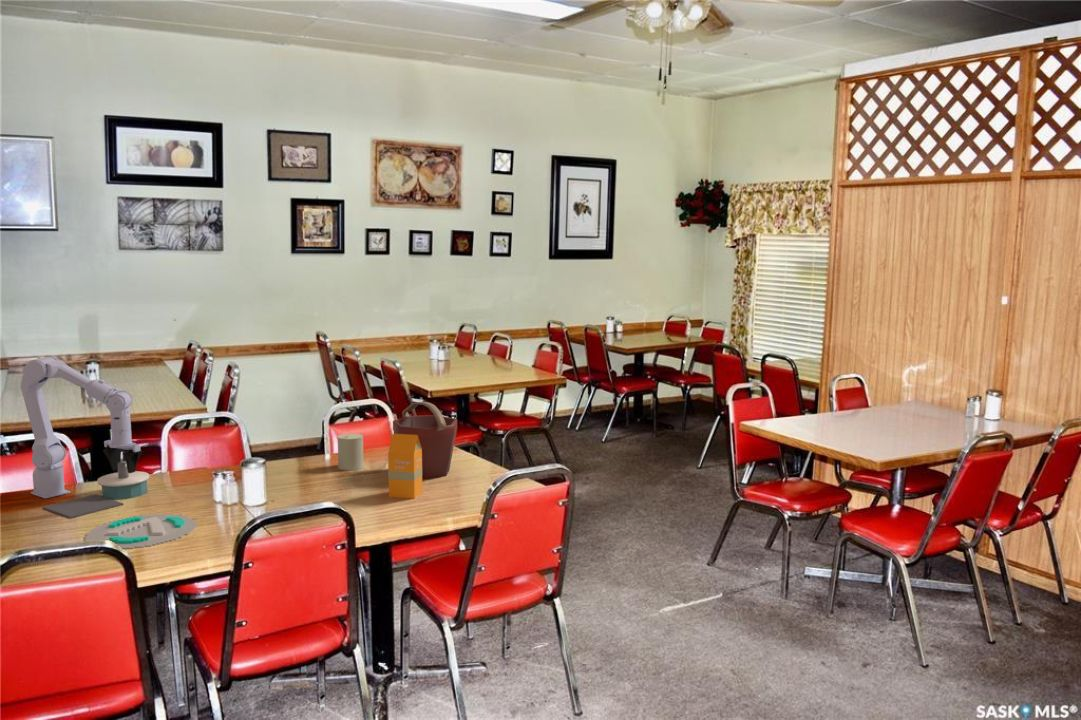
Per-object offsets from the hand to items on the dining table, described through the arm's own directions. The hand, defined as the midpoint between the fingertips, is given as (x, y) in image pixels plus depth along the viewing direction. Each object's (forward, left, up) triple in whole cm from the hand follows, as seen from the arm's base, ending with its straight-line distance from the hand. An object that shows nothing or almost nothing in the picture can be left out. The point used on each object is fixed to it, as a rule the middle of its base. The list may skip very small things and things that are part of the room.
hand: (123, 471), depth 275 cm
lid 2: (+38, -17, -8) cm, 42 cm away
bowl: (0, 0, -7) cm, 7 cm away
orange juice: (+74, +52, -8) cm, 91 cm away
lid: (0, 0, -3) cm, 3 cm away
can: (+35, +65, -8) cm, 74 cm away
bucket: (+62, +76, -8) cm, 98 cm away
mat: (+3, -15, -7) cm, 17 cm away
